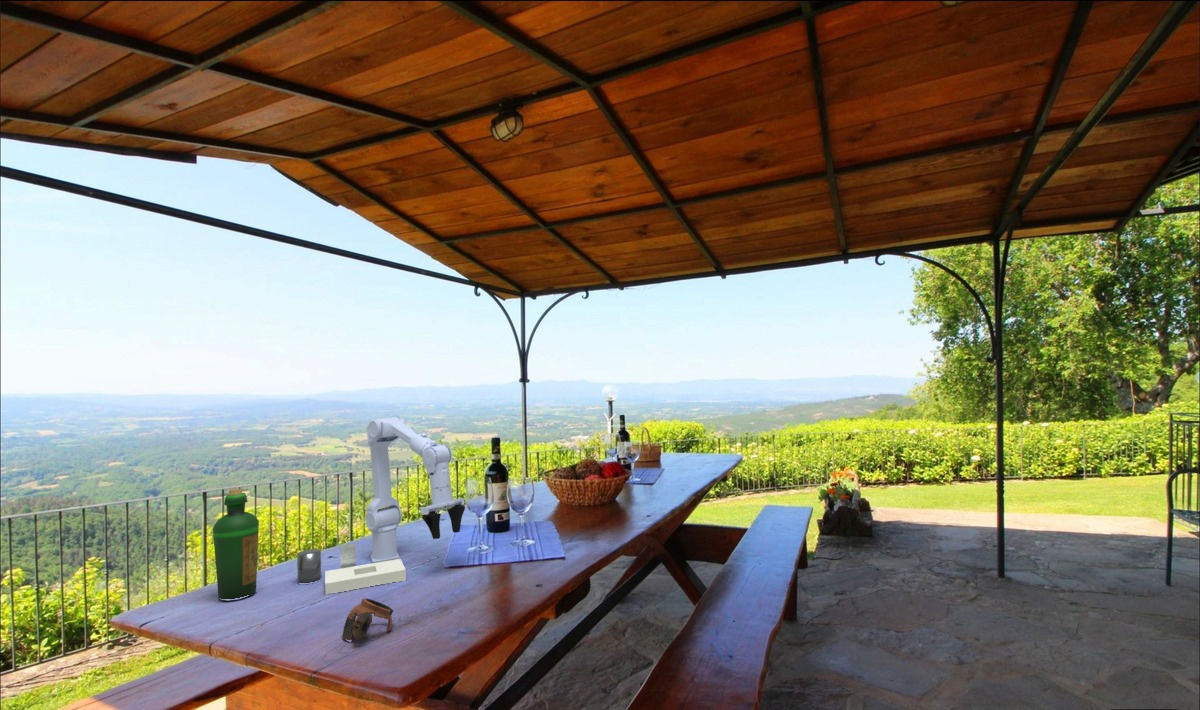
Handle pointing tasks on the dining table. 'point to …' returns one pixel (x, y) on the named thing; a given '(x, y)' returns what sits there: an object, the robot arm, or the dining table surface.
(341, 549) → the square steel peg
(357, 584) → the cream socket block
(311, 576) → the round dark peg
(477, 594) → the dining table surface
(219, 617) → the dining table surface
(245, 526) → the bottle
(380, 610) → the brown curved piece
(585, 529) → the dining table surface
